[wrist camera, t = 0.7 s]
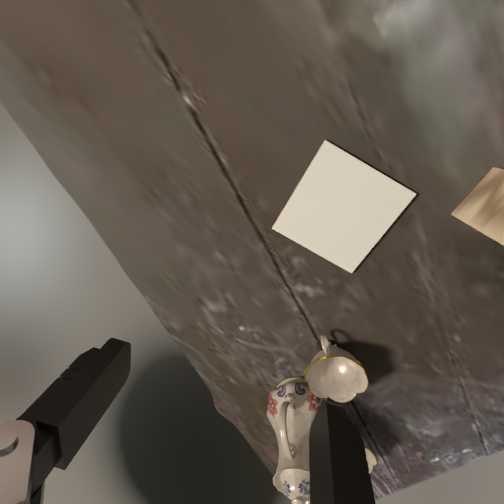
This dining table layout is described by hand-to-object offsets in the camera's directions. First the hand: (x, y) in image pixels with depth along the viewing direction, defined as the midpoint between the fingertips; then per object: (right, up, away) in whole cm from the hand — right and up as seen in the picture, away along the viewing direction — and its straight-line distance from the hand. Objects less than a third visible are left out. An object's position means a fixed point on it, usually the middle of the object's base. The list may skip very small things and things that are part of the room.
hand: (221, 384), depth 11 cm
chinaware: (+12, -19, +36) cm, 43 cm away
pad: (+12, +10, +23) cm, 28 cm away
